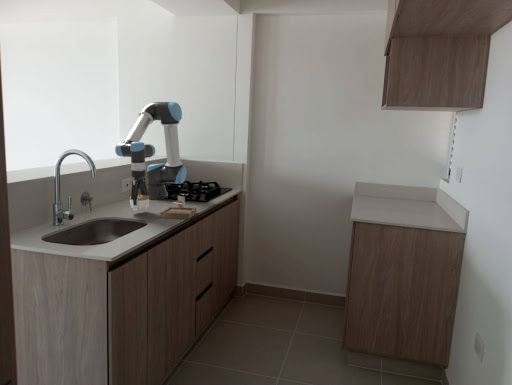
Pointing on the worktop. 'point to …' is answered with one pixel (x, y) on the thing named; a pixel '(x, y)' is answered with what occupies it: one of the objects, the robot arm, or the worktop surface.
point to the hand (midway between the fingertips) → (139, 208)
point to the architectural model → (180, 201)
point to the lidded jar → (141, 202)
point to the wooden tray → (178, 212)
